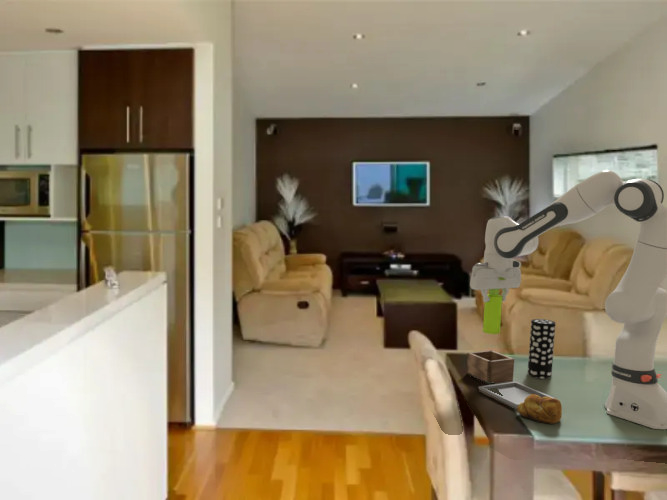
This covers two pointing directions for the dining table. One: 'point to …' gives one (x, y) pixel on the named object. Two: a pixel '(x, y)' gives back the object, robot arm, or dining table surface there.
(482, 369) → the walnut box
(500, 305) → the soap dispenser
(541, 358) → the white-spotted black cylinder
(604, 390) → the dining table surface
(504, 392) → the grey tray
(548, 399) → the bread roll
